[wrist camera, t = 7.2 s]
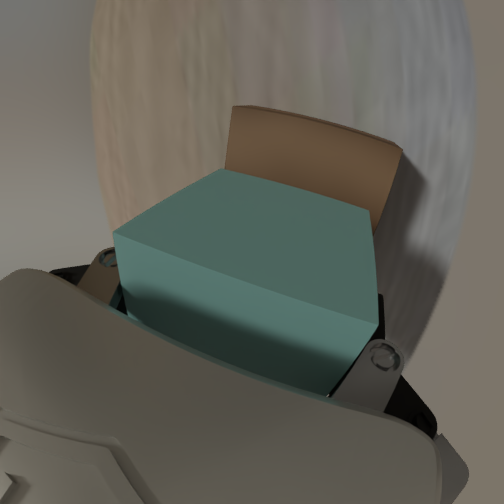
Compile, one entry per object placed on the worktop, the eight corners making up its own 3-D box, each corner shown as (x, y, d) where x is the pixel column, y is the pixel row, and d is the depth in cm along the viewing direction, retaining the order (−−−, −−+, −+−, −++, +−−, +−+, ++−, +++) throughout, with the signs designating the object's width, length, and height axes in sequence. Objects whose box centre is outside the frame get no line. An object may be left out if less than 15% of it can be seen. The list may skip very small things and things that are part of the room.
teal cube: (221, 168, 11) (112, 232, 6) (369, 210, 9) (378, 324, 5) (210, 282, 14) (143, 369, 9) (322, 321, 13) (293, 432, 8)
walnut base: (251, 105, 15) (232, 106, 13) (393, 142, 13) (402, 149, 11) (233, 238, 21) (215, 258, 18) (346, 275, 19) (344, 301, 17)
